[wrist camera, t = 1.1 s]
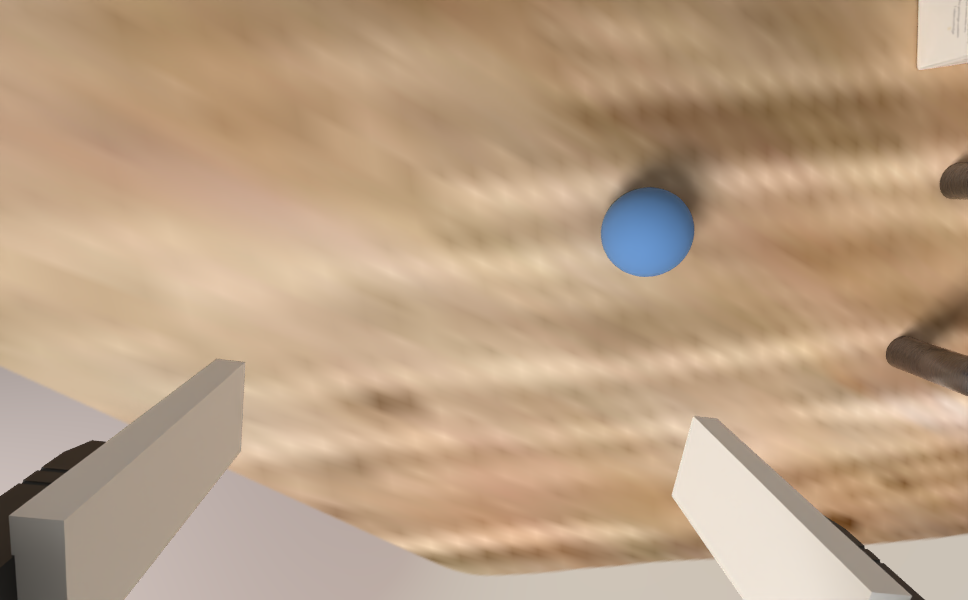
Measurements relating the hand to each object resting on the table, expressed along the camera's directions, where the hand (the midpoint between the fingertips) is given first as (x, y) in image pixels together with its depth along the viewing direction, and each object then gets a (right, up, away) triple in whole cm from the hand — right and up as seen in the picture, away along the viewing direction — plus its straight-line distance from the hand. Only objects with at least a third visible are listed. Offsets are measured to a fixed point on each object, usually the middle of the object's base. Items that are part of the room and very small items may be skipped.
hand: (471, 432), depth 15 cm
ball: (+10, +8, +17) cm, 21 cm away
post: (+31, 0, +22) cm, 38 cm away
